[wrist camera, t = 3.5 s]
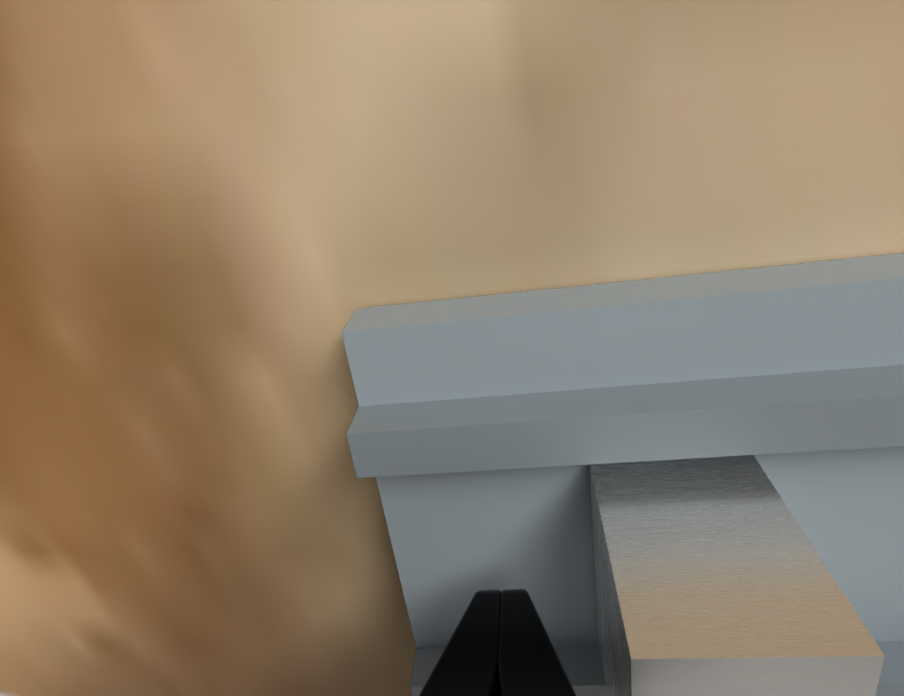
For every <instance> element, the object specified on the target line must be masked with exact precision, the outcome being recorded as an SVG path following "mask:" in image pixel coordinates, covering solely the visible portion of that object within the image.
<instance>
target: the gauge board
mask: <svg viewBox="0 0 904 696" xmlns="http://www.w3.org/2000/svg"><path fill="white" fill-rule="evenodd" d="M341 333H342V337H343V341H344V345H345V350H346V354H347V358H348V362H349V366H350V371H351V375H352V379H353V383H354V388H355V392H356V396H357V400H358V404H359V408H358V410H357V412H356V414H355V416H354V418H353V420H352V423H351V425H350V427H349V429H348V431H347V433H346V436H347V440H348V444H349V448H350V451H351V455H352V459H353V463H354V467H355V471H356V475H357V478H370V477H376V480H377V485H378V489H379V493H380V497H381V502H382V506H383V510H384V514H385V518H386V523H387V527H388V531H389V535H390V540H391V544H392V548H393V552H394V556H395V561H396V565H397V569H398V573H399V578H400V582H401V586H402V590H403V594H404V599H405V603H406V607H407V611H408V616H409V620H410V624H411V628H412V632H413V637H414V641H415V645H416V653H415V659H414V666H413V672H412V678H411V684H410V689H411V693H412V696H419V694H420V692H421V690H422V688H423V687H424V685H425V683H426V681H427V679H428V678H429V676H430V674H431V672H432V670H433V668H434V667H435V665H436V663H437V661H438V659H439V658H440V656H441V654H442V652H443V650H444V649H445V647H446V645H447V643H448V641H449V639H450V638H451V636H452V634H453V632H454V630H455V629H456V627H457V625H458V623H459V621H460V619H461V618H462V616H463V614H464V612H465V610H466V609H467V607H468V605H469V603H470V601H471V599H472V598H473V596H474V594H475V593H476V592H477V591H478V590H495V589H498V590H500V591H502V590H504V589H525V590H526V591H527V592H528V594H529V596H530V598H531V600H532V602H533V604H534V606H535V608H536V610H537V613H538V615H539V617H540V619H541V621H542V623H543V625H544V628H545V630H546V632H547V634H548V636H549V638H550V640H551V643H552V645H553V647H554V649H555V651H556V653H557V655H558V657H559V660H560V662H561V664H562V666H563V668H564V670H565V672H566V675H567V677H568V679H569V681H570V683H571V685H572V687H573V690H574V692H575V694H576V696H608V695H607V689H606V683H605V677H604V670H603V664H602V658H601V651H600V645H599V639H598V626H597V607H596V587H595V568H594V548H593V529H592V509H591V490H590V470H589V465H590V464H607V463H624V462H641V461H658V460H675V459H692V458H709V457H726V456H743V455H754V457H755V458H756V460H757V461H758V463H759V464H760V466H761V467H762V469H763V470H764V472H765V473H766V475H767V477H768V478H769V480H770V481H771V483H772V484H773V486H774V487H775V489H776V490H777V492H778V493H779V495H780V496H781V498H782V499H783V501H784V503H785V504H786V506H787V507H788V509H789V510H790V512H791V513H792V515H793V516H794V518H795V519H796V521H797V522H798V524H799V526H800V527H801V529H802V530H803V532H804V533H805V535H806V536H807V538H808V539H809V541H810V542H811V544H812V545H813V547H814V549H815V550H816V552H817V553H818V555H819V556H820V558H821V559H822V561H823V562H824V564H825V565H826V567H827V568H828V570H829V571H830V573H831V575H832V576H833V578H834V579H835V581H836V582H837V584H838V585H839V587H840V588H841V590H842V591H843V593H844V594H845V596H846V598H847V599H848V601H849V602H850V604H851V605H852V607H853V608H854V610H855V611H856V613H857V614H858V616H859V617H860V619H861V620H862V622H863V624H864V625H865V627H866V628H867V630H868V631H869V633H870V634H871V636H872V637H873V639H874V640H875V642H876V643H877V645H878V647H879V648H880V650H881V651H882V653H883V654H884V656H885V657H884V661H883V665H882V669H881V674H880V678H879V682H878V686H877V690H876V694H875V696H904V253H898V254H888V255H878V256H868V257H859V258H849V259H839V260H829V261H819V262H810V263H800V264H790V265H780V266H770V267H761V268H751V269H741V270H731V271H721V272H711V273H702V274H692V275H682V276H672V277H662V278H653V279H643V280H633V281H623V282H613V283H604V284H594V285H584V286H574V287H564V288H555V289H545V290H535V291H525V292H515V293H505V294H496V295H486V296H476V297H466V298H456V299H447V300H437V301H427V302H417V303H407V304H398V305H388V306H378V307H368V308H358V309H357V310H356V311H355V313H354V314H353V316H352V317H351V319H350V320H349V322H348V323H347V325H346V326H345V328H344V329H343V331H342V332H341Z"/></svg>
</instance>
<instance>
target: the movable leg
mask: <svg viewBox="0 0 904 696" xmlns="http://www.w3.org/2000/svg"><path fill="white" fill-rule="evenodd" d="M589 470H590V490H591V509H592V529H593V548H594V568H595V587H596V607H597V626H598V639H599V645H600V651H601V658H602V664H603V670H604V677H605V683H606V689H607V695H608V696H875V694H876V690H877V686H878V682H879V678H880V674H881V669H882V665H883V661H884V657H885V656H884V654H883V653H882V651H881V650H880V648H879V647H878V645H877V643H876V642H875V640H874V639H873V637H872V636H871V634H870V633H869V631H868V630H867V628H866V627H865V625H864V624H863V622H862V620H861V619H860V617H859V616H858V614H857V613H856V611H855V610H854V608H853V607H852V605H851V604H850V602H849V601H848V599H847V598H846V596H845V594H844V593H843V591H842V590H841V588H840V587H839V585H838V584H837V582H836V581H835V579H834V578H833V576H832V575H831V573H830V571H829V570H828V568H827V567H826V565H825V564H824V562H823V561H822V559H821V558H820V556H819V555H818V553H817V552H816V550H815V549H814V547H813V545H812V544H811V542H810V541H809V539H808V538H807V536H806V535H805V533H804V532H803V530H802V529H801V527H800V526H799V524H798V522H797V521H796V519H795V518H794V516H793V515H792V513H791V512H790V510H789V509H788V507H787V506H786V504H785V503H784V501H783V499H782V498H781V496H780V495H779V493H778V492H777V490H776V489H775V487H774V486H773V484H772V483H771V481H770V480H769V478H768V477H767V475H766V473H765V472H764V470H763V469H762V467H761V466H760V464H759V463H758V461H757V460H756V458H755V457H754V455H743V456H726V457H709V458H692V459H675V460H658V461H641V462H624V463H607V464H590V465H589Z"/></svg>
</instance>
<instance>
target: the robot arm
mask: <svg viewBox="0 0 904 696" xmlns="http://www.w3.org/2000/svg"><path fill="white" fill-rule="evenodd" d="M419 696H576V694H575V692H574V690H573V687H572V685H571V683H570V681H569V679H568V677H567V675H566V672H565V670H564V668H563V666H562V664H561V662H560V660H559V657H558V655H557V653H556V651H555V649H554V647H553V645H552V643H551V640H550V638H549V636H548V634H547V632H546V630H545V628H544V625H543V623H542V621H541V619H540V617H539V615H538V613H537V610H536V608H535V606H534V604H533V602H532V600H531V598H530V596H529V594H528V592H527V591H526V590H525V589H504V590H502V591H500V590H498V589H495V590H478V591H477V592H476V593H475V594H474V596H473V598H472V599H471V601H470V603H469V605H468V607H467V609H466V610H465V612H464V614H463V616H462V618H461V619H460V621H459V623H458V625H457V627H456V629H455V630H454V632H453V634H452V636H451V638H450V639H449V641H448V643H447V645H446V647H445V649H444V650H443V652H442V654H441V656H440V658H439V659H438V661H437V663H436V665H435V667H434V668H433V670H432V672H431V674H430V676H429V678H428V679H427V681H426V683H425V685H424V687H423V688H422V690H421V692H420V694H419Z"/></svg>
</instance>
